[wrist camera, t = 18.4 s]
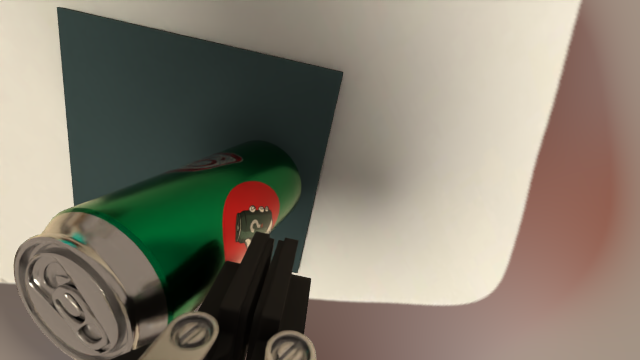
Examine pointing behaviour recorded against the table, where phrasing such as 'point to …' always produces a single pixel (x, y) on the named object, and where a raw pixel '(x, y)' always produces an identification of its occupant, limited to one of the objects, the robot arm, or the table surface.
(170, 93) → the mat
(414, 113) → the table surface
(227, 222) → the soda can
